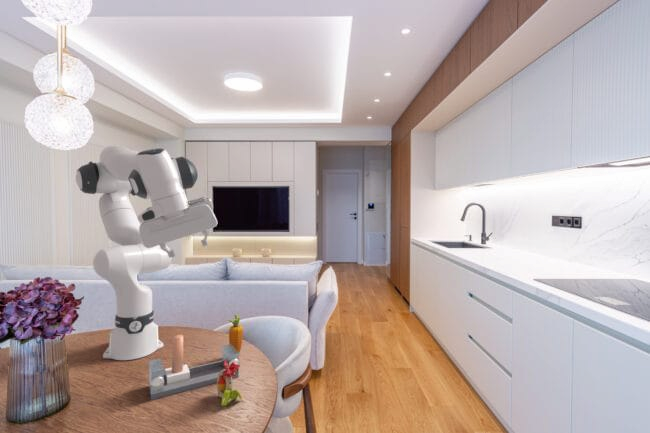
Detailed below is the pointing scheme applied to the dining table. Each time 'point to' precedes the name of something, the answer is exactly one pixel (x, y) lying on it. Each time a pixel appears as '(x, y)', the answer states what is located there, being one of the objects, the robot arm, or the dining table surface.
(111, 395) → the dining table surface
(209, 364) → the rail track
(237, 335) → the carrot
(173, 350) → the carriage
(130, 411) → the dining table surface
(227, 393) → the decorative toy figure
